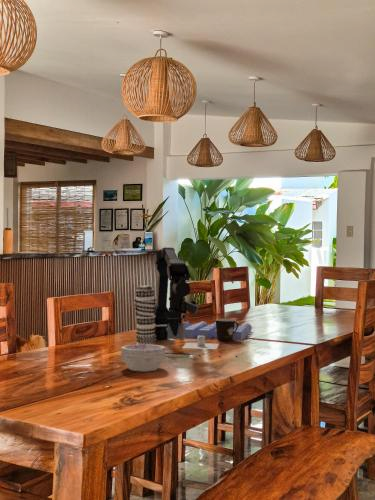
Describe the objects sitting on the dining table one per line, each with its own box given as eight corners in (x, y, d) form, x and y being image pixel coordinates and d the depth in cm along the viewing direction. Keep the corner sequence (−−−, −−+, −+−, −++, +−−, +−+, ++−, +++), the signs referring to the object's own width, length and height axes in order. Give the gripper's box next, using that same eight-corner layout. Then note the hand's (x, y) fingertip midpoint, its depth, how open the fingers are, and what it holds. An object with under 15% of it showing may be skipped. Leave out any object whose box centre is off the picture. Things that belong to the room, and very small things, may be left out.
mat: (159, 356, 250) (159, 354, 250) (164, 351, 261) (164, 349, 261) (188, 357, 248) (188, 355, 248) (191, 352, 259) (191, 350, 259)
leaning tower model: (154, 346, 273) (152, 287, 272) (133, 346, 275) (131, 287, 274) (159, 342, 282) (158, 284, 281) (139, 341, 284) (137, 284, 283)
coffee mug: (218, 344, 281) (219, 321, 281) (212, 341, 290) (212, 319, 290) (244, 343, 284) (244, 320, 284) (237, 340, 293) (237, 318, 293)
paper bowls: (142, 363, 236) (142, 341, 235) (174, 369, 226) (174, 346, 226) (111, 369, 224) (111, 346, 224) (144, 375, 214) (144, 351, 214)
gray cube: (183, 339, 251) (183, 323, 251) (167, 338, 252) (168, 322, 252) (185, 336, 257) (185, 321, 257) (170, 336, 258) (170, 321, 258)
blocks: (165, 338, 299) (165, 328, 299) (184, 329, 333) (184, 319, 333) (241, 342, 291) (241, 331, 291) (252, 332, 324) (252, 322, 324)
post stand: (181, 350, 263) (182, 338, 263) (186, 345, 277) (186, 333, 277) (216, 352, 262) (216, 339, 262) (219, 346, 276) (219, 334, 275)
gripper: (194, 297, 244) (194, 338, 244) (200, 293, 263) (199, 331, 263) (165, 296, 246) (164, 337, 246) (172, 292, 264) (172, 330, 264)
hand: (176, 334), depth 255 cm, fingers closed on gray cube, 6 cm apart
